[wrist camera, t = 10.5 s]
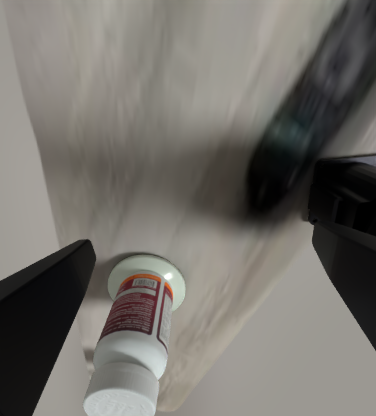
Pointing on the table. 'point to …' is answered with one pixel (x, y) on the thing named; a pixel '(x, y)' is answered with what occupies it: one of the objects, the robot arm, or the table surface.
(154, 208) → the table surface
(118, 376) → the pill bottle
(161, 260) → the dish
